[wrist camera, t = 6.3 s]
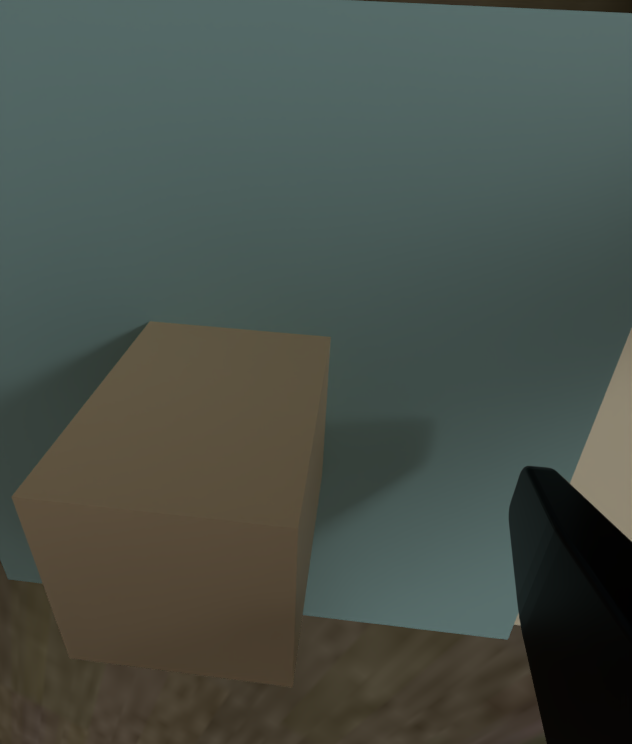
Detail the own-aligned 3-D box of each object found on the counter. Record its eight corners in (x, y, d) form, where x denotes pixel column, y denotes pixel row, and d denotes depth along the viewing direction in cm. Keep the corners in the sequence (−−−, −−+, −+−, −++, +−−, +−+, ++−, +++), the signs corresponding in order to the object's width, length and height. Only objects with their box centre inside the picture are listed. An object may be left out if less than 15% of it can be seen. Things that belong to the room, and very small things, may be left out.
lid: (709, 19, 7) (1205, 12, 3) (500, 601, 13) (552, 863, 9) (-174, -21, 8) (-832, -75, 4) (30, 546, 14) (-118, 765, 10)
